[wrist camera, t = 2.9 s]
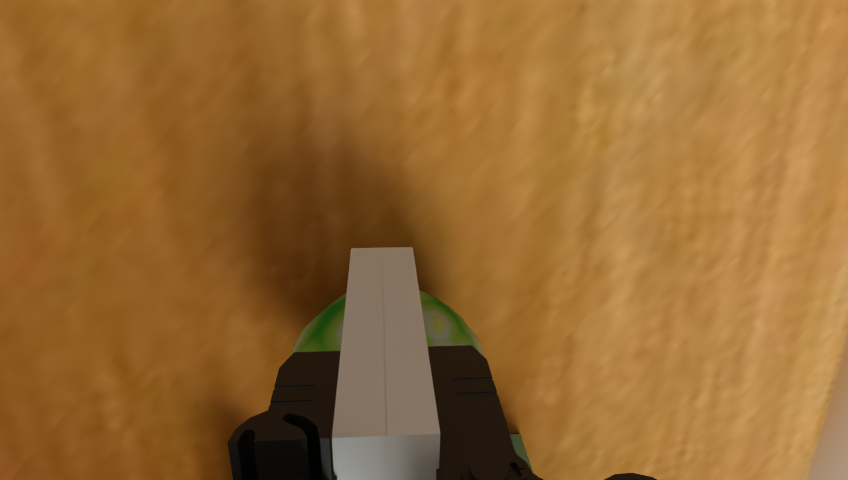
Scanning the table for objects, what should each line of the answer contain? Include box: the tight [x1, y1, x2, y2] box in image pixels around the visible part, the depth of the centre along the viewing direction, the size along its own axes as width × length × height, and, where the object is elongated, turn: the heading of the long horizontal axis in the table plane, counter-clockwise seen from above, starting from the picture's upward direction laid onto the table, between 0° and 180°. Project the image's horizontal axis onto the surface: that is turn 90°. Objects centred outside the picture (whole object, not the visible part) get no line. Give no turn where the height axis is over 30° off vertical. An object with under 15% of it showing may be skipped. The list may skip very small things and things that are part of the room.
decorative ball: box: [290, 290, 482, 356], centre depth 28 cm, size 10×10×10 cm
